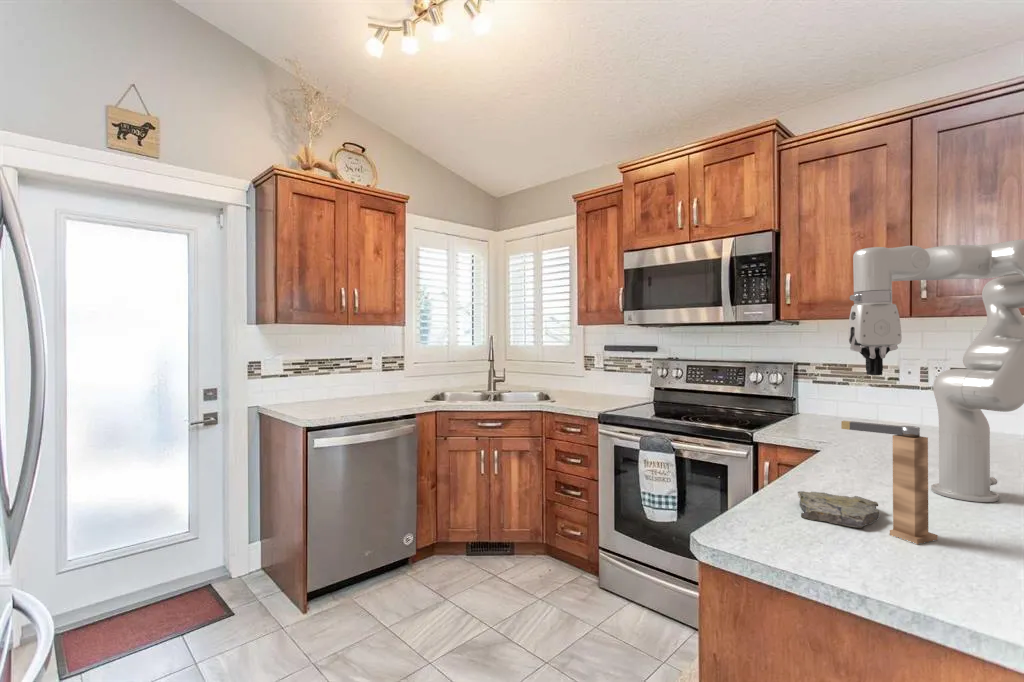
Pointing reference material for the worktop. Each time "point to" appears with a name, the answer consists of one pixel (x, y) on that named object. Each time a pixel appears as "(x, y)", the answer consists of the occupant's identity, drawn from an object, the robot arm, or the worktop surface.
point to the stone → (838, 509)
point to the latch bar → (882, 428)
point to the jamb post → (910, 489)
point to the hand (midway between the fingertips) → (874, 374)
